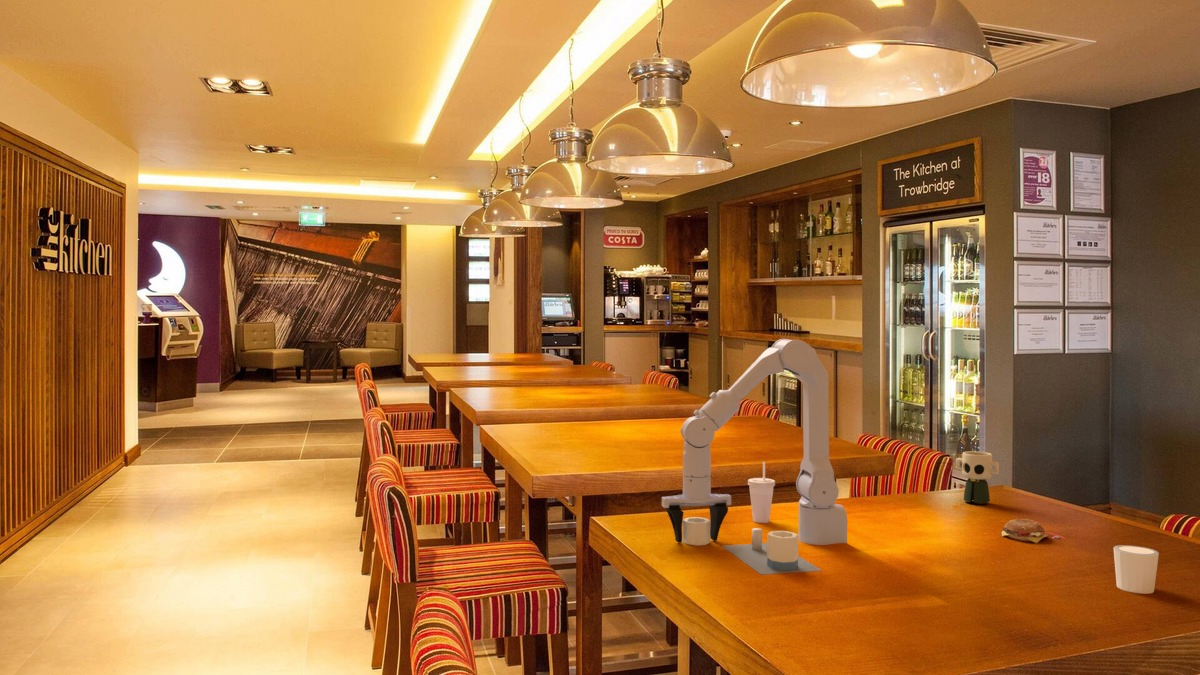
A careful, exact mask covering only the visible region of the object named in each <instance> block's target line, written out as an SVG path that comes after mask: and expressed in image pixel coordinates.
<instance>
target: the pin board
mask: <svg viewBox="0 0 1200 675" xmlns="http://www.w3.org/2000/svg"><path fill="white" fill-rule="evenodd" d="M721 547H722V548H723V549H725V550H727V551H728V552H729V553H731V555H734V556H735V557H736V558H737V559H738V560H741V562H743V563H744V564H746V565H747V566H748V567H750V569H753V570H754V571H755V572H757V573H758V574H759V575H761V576H763V575H779V574H791V573H792V574H794V573H809V572H822V571H823V570H822V569H821V568H820V567H819V568H818V567H817V566H816V565H814V564H812V563H811V562H809V561H807V560H806V559H804V558H803V557H801V556H799V555H798V567H797V568H796V569H795V570H785V571H782V570H776V569H772V568H770V567H769V566H767V542H765V543H764V542H763V529H762V528H759V527H756V528H755V527H754V528H751V543H747V544H729V545H728V544H727V545H721Z"/></svg>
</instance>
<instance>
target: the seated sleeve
mask: <svg viewBox="0 0 1200 675" xmlns="http://www.w3.org/2000/svg"><path fill="white" fill-rule="evenodd" d="M766 535H767V536H766V538H767V542H766V543H767V566H769V567H770V568H772V569H776V570H782V571H785V570H795V569H796V568H797V567H798V556H799V534H797V533H796V532H793V531H785V530H772V531H770V532H768V533H767V534H766Z"/></svg>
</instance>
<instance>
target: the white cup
mask: <svg viewBox="0 0 1200 675" xmlns="http://www.w3.org/2000/svg"><path fill="white" fill-rule="evenodd" d="M1159 554H1160V553H1159V551H1157V550H1155V549H1153V548H1149V547H1144V546H1139V545H1129V544H1128V545H1127V544H1124V545H1122V544H1121V545H1119V544H1118V545H1115V546H1114V547H1113V558H1114V567H1115V568H1114V570H1115V571H1114V572H1115V580H1116V581H1115V582H1116V587H1117V588H1118V589H1119V590H1122V591H1125V592H1130V593H1134V594H1145V595H1146V594H1153V593H1154V592H1155V588H1156V587H1155V586H1156V585H1155V584H1156V578H1157V571H1158V570H1157V569H1158V564H1159V563H1158V562H1159Z"/></svg>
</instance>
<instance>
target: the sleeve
mask: <svg viewBox="0 0 1200 675" xmlns="http://www.w3.org/2000/svg"><path fill="white" fill-rule="evenodd" d="M710 525H711V520H710V519H708V518H707V517H699V516H694V517H685V518H683V520H682V543H683V544H685V545H689V546H696V547H697V546H707V545H708V544H710V543H711V537H710Z"/></svg>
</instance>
